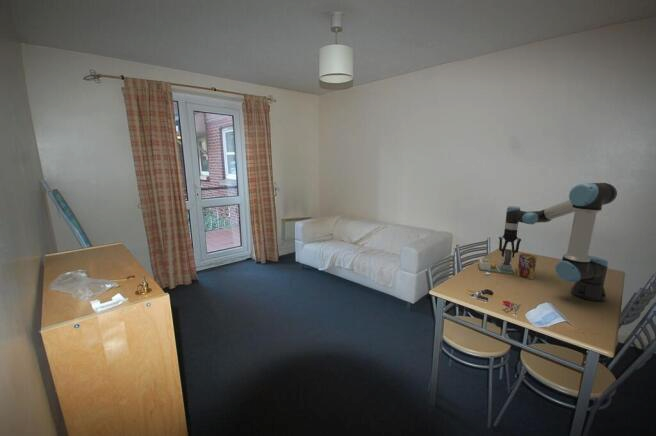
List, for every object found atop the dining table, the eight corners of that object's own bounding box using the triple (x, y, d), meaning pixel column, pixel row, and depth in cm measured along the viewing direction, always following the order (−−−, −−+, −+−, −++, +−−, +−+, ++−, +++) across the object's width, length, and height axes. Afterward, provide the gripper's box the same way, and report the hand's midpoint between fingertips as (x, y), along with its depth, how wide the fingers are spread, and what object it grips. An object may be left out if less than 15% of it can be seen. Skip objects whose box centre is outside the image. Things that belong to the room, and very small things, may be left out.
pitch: (512, 274, 198) (513, 267, 197) (480, 270, 205) (480, 263, 204) (508, 268, 210) (509, 261, 209) (477, 264, 217) (478, 257, 216)
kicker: (511, 271, 201) (513, 251, 198) (502, 270, 203) (505, 250, 200) (509, 268, 207) (511, 249, 204) (501, 267, 208) (503, 248, 206)
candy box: (534, 278, 192) (537, 255, 190) (532, 279, 190) (535, 257, 187) (518, 274, 199) (521, 252, 196) (516, 275, 197) (519, 253, 194)
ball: (496, 269, 205) (497, 264, 205) (490, 268, 207) (491, 263, 206) (495, 267, 209) (496, 262, 208) (489, 266, 210) (490, 262, 209)
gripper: (523, 228, 200) (519, 261, 204) (496, 226, 206) (492, 258, 210) (526, 230, 193) (522, 264, 197) (498, 228, 199) (494, 261, 203)
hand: (507, 261), depth 204 cm, fingers closed on kicker, 4 cm apart
